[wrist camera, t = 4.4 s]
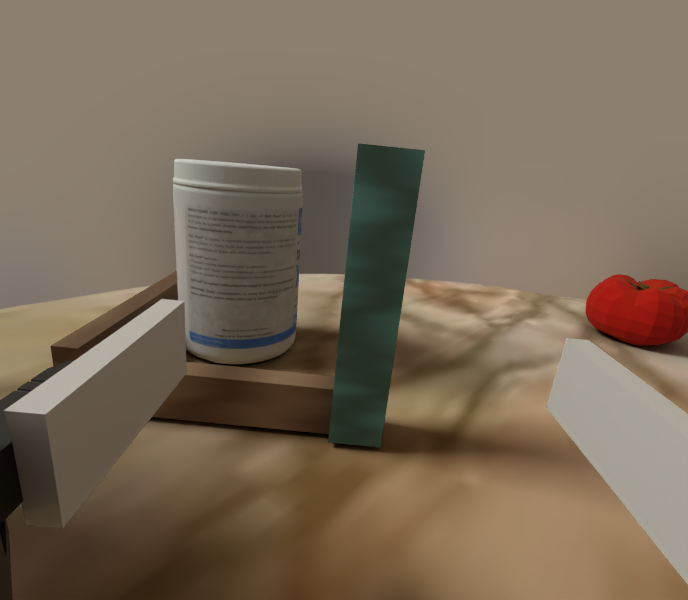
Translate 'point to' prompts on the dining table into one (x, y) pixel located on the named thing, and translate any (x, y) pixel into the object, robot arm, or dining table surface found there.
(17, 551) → the dining table surface
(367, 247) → the wooden frame
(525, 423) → the dining table surface
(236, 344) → the supplement tub
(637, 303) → the tomato
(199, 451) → the dining table surface
